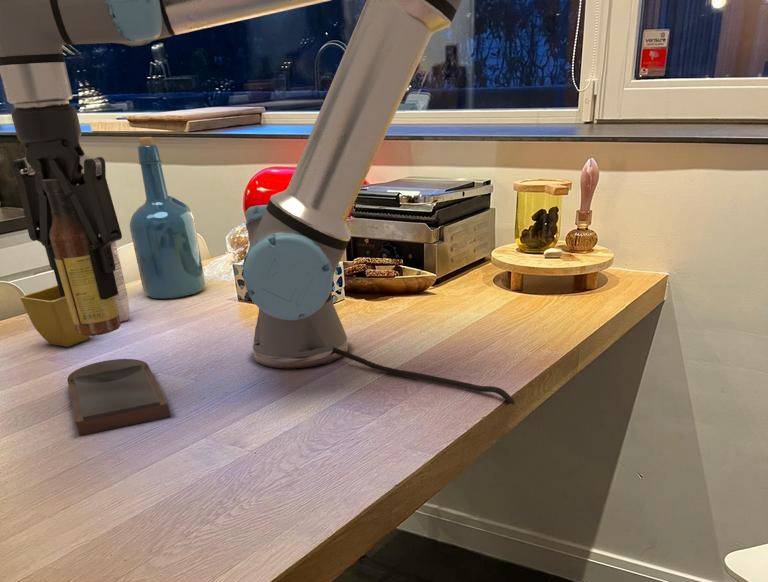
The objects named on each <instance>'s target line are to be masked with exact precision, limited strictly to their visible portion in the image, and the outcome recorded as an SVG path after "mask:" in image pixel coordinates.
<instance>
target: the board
mask: <svg viewBox="0 0 768 582" xmlns="http://www.w3.org/2000/svg"><path fill="white" fill-rule="evenodd" d="M66 379H67V386H68V390H69V395H70V400H71V401H70V402H71V406H72V411H73V415H74V420H75V424H76V428H77V432H78V435H79V436H80V437H81V436H86V435H91V434H94V433H95V434H96V433H100V432H104V431H109V430H114V429H118V428H124V427H128V426H129V427H130V426H133V425H138V424H143V423H147V422H152V421H157V420H163V419H166V418H171V414H170V413H171V412H170V407H169V404H168V402H167V399H166V398H165V396H164V393H163V391H162V389H161V388H160V385H159V384H158V382H157V379H156V377H155V376H154V374H153V371H152V370H151V367H150V365H149V364H148V363H147V362H146V361H143V360H141V359H134V358H117V359H116V358H115V359H109V360H103V361H98V362H94V363H90V364H88V365H83V366H82V367H79V368H77V369H76V370H73V371H72V372H70V374H69V375H68V376H67V378H66Z"/></svg>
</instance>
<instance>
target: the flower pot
mask: <svg viewBox="0 0 768 582" xmlns="http://www.w3.org/2000/svg"><path fill="white" fill-rule="evenodd" d="M20 300H21V302H22V303H21V304H22V305H23V307H24V310H25V311H26V314H27V315H28V318H29V320H30V322H31V324H32V326H33V327H34V328H35V329H34V330H36V331H37V333H38V334H39V335H40V336H41V337H42V338H43V339H44V340H45V341H46V342H48V343H49V344H50V345H55V346H60V347H65V348H69V347H71V346H74V345H76V344H79V343H82V342H84V341H87V340H89V339H90V338H91V336H85V335H82V334H79V333H77V331H76V329H75V324H74V323H73V320H72V317H71V313H70V310H69V307H68V303H67V299H66V296H65V297H62V296H60V292H59V288H58V284H57V285H53V286H50V287H47V288H43V289H41V290H38V291H35V292H31V293H28V294H25V295H22V296H20Z"/></svg>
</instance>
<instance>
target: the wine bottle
mask: <svg viewBox="0 0 768 582" xmlns="http://www.w3.org/2000/svg"><path fill="white" fill-rule="evenodd" d="M138 143H139V145H138V146H137V155H138V165H140V170H141V175H142V182H143V187H144V193H145V202H144V203H143V204H142V205H141V206H139V207H138V208H137V209H136V210H135V211H134V212H133V214H132V215H131V217H130V221H129V231H130V235H131V241H132V244H133V249H134V254H135V258H136V262H137V268H138V273H139V276H140V281H141V286H142V291H143V293H144V294H145V295H146V296H147V297H149V298H153V299H158V300H159V299H161V300H162V299H163V300H169V299H170V300H171V299H179V298H185V297H189V296H193V295H196V294H197V293H199V292H201V291H203V290H205V286H206V279H205V278H206V277H205V273H204V268H203V262H202V256H201V250H200V244H199V239H198V233H197V228H196V223H195V218H194V216H193V214H192V213H193V212H192V209H191V207H190V206H189V205H188V204H187V203H185V202H183V201H181V200H179V199H177V198H175V197H173V196H171V195H169V193H168V188H167V184H166V180H165V176H164V171H163V167H162V159H161V154H160V152H159V149H158V145H157V144H155V142H154V138H153V137H152V136H143V137H140V138H139V139H138Z"/></svg>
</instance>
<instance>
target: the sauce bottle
mask: <svg viewBox="0 0 768 582" xmlns="http://www.w3.org/2000/svg"><path fill="white" fill-rule="evenodd" d="M42 185H43V189H44V191H45V192H46V194H47V197H48V201H49V204H50V208H51V213H52V226H51V229H50V233H49V237H50V242H51V245H52V248H53V252H54V255H55V262H56V265H57V268H58V272H59V275H60V279H61V282H62V286H63V289H64V293H65V296H66V299H67V303H68V307H69V310H70V313H71V317H72V320H73V323H74V324H75V329H76V331H77V333H79V334H82V335H85V336H90V337H91V336H92V337H95V336H103V335H106V334H109V333H112V332H114V331H117V330H118V329H120V327H121V323H122V322H120V318H119V310H118V307H117V303H116V299H115V296H113V297H110V298H108V299H105V300H103V299H100V295H99V291H98V287H97V282H96V278H95V274H94V270H93V266H92V262H91V258H90V253H89V249H90V248H89V246H90V245H92V243H91V240H90V238H89V236H88V234H87V232H86V230H85V228H84V226H83V224H82V222H81V220H80V218H79V216H78V213H77V211H76V209H75V207H74V205H73V203H72V201H71V199H70V197H69V196H67V195H66V194H65V193H64V191H63V189H62V187H61V185H60V183H59V181H58V179H45V180H42Z"/></svg>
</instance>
